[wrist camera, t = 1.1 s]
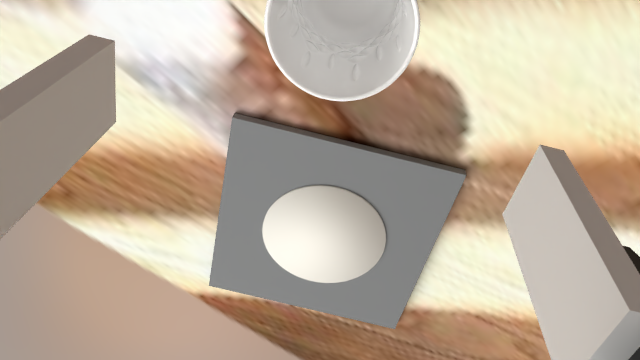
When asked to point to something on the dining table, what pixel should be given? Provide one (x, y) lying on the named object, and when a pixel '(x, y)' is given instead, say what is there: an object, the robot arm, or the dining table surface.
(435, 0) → the dining table surface
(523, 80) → the dining table surface
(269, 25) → the white cup
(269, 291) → the mat
